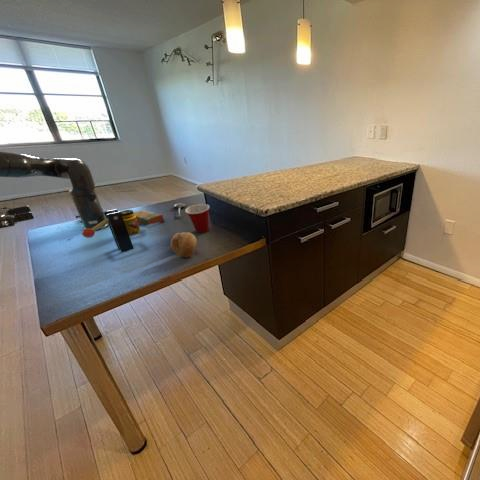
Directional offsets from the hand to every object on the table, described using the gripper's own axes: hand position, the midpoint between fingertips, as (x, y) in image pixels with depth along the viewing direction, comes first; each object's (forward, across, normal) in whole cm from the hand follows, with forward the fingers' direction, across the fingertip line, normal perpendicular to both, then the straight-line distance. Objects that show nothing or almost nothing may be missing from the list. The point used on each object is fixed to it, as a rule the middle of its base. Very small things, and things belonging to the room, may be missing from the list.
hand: (31, 211), depth 85 cm
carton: (+38, +28, +24) cm, 53 cm away
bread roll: (+37, -19, +24) cm, 48 cm away
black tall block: (+20, 0, +24) cm, 31 cm away
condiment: (+27, +15, +24) cm, 39 cm away
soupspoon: (+55, +30, +24) cm, 68 cm away
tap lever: (+16, 0, +11) cm, 20 cm away
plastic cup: (+51, -4, +24) cm, 57 cm away
